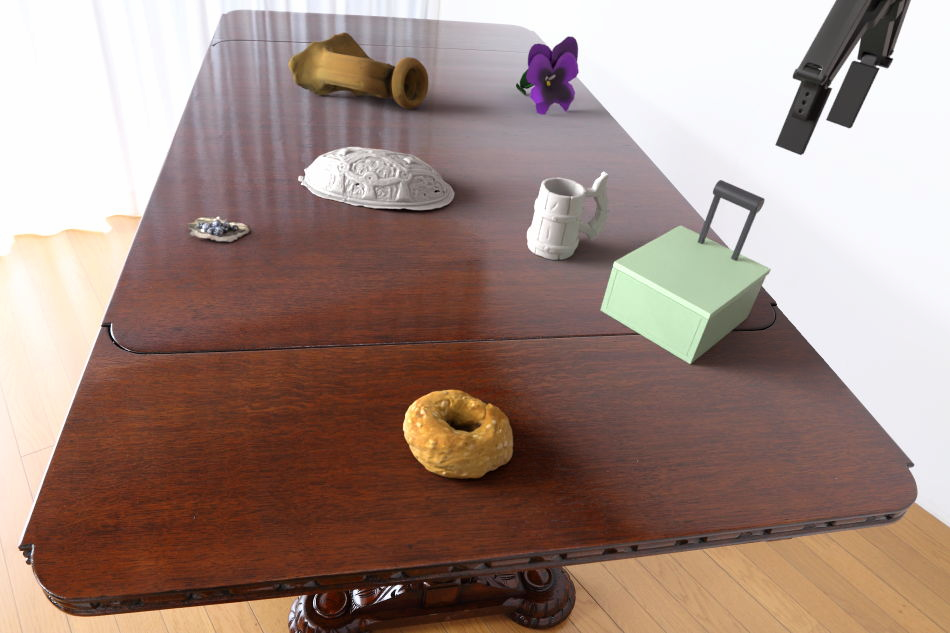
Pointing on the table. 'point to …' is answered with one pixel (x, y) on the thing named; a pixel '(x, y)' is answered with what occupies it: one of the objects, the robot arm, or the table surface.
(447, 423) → the bagel
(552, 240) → the mug
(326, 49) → the brown looped sculpture
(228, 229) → the blueberries
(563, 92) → the flower
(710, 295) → the lunchbox lid
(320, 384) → the table surface
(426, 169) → the ornate oval dome
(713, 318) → the box
